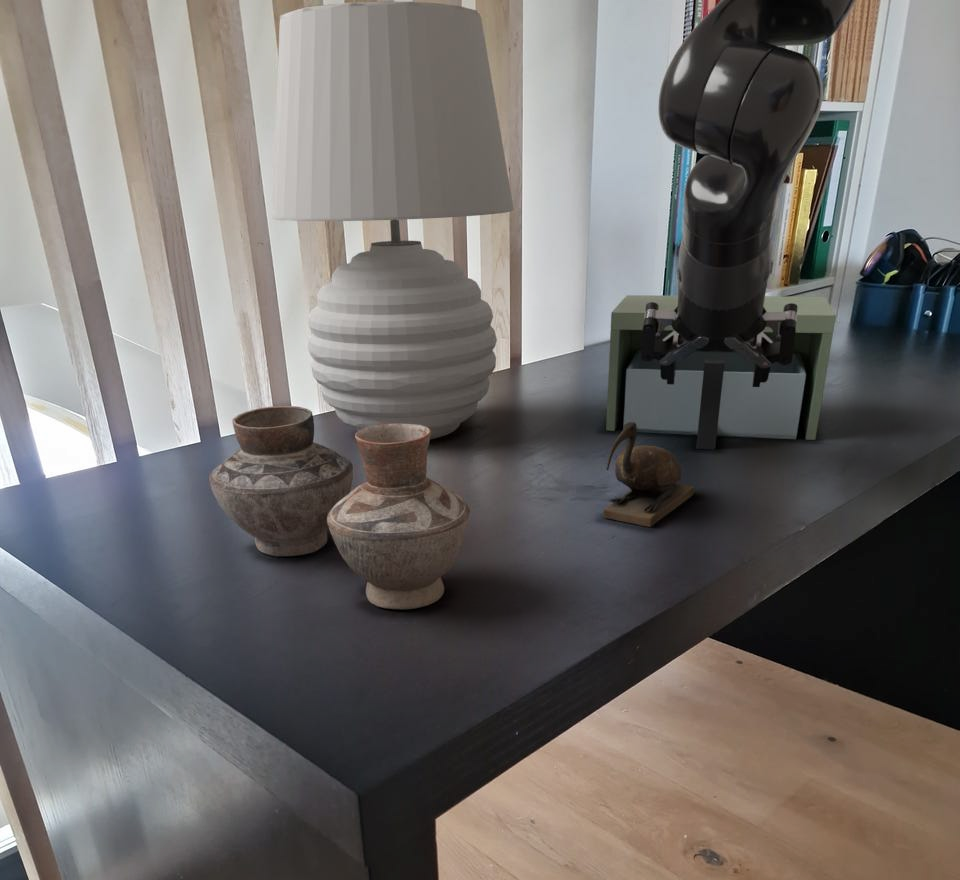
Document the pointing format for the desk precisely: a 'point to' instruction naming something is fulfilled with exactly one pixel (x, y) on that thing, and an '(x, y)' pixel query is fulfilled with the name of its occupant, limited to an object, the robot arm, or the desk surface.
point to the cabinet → (809, 342)
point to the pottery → (345, 502)
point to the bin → (715, 398)
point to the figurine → (645, 482)
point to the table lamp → (392, 200)
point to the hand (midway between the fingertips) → (713, 378)
